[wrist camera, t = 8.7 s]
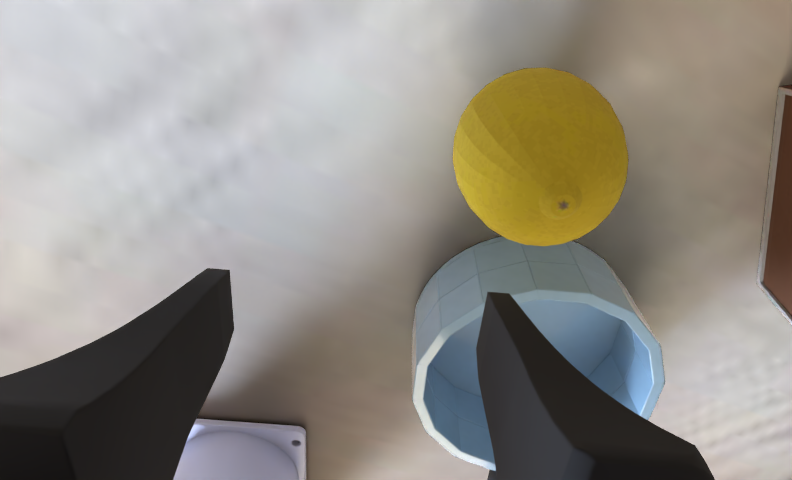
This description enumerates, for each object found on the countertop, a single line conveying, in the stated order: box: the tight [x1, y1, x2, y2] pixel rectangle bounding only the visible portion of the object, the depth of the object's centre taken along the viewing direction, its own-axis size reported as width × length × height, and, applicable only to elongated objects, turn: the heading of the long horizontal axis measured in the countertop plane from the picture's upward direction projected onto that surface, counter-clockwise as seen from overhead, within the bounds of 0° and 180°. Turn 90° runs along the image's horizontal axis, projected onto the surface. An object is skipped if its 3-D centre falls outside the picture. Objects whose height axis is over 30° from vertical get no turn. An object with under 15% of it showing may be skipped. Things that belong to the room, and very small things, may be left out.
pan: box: [412, 237, 665, 471], centre depth 25 cm, size 10×10×4 cm
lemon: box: [453, 68, 629, 246], centre depth 19 cm, size 6×6×8 cm
